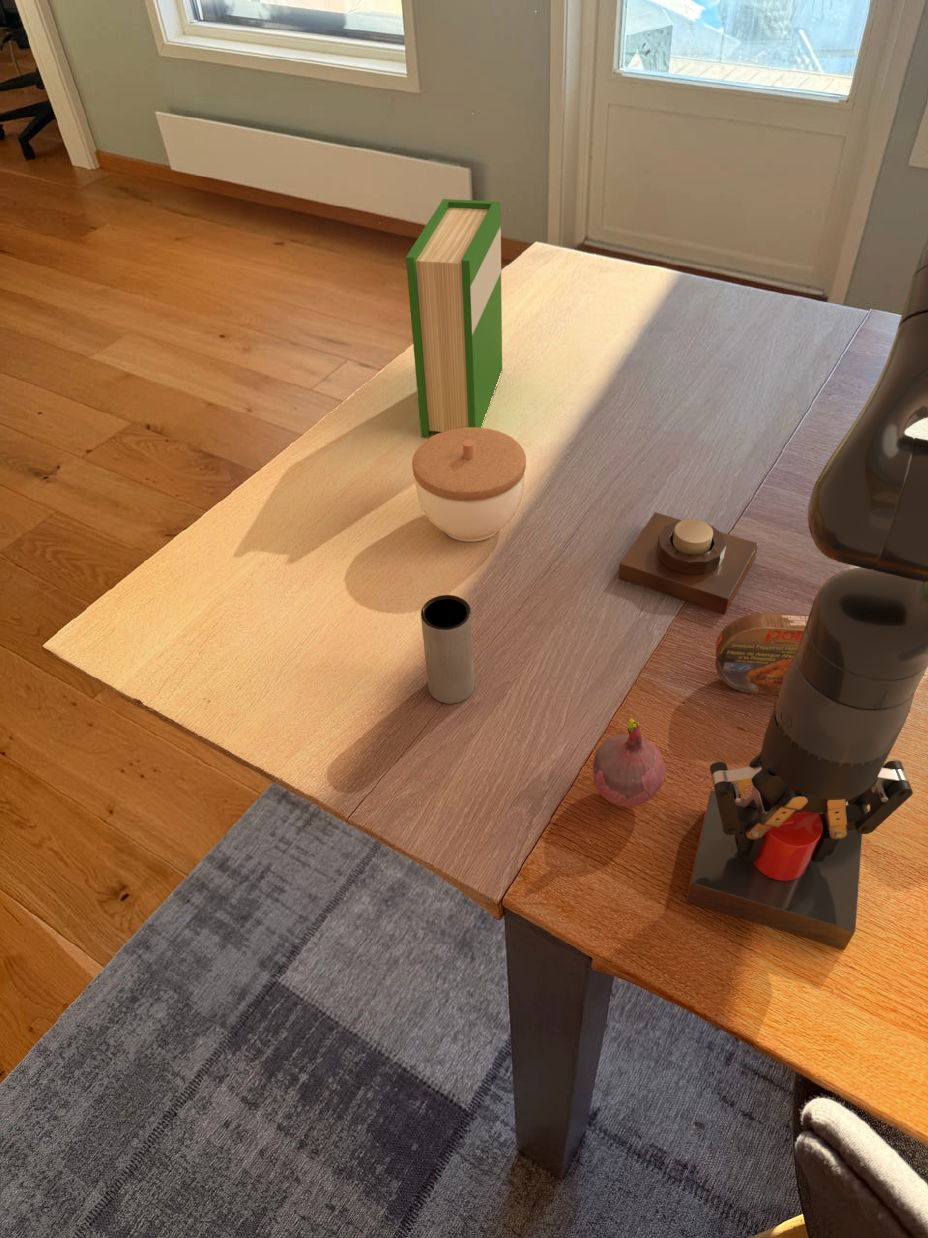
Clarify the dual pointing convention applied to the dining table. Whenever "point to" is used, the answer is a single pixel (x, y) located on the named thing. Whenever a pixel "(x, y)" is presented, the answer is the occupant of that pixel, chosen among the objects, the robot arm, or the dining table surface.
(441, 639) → the planter
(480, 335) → the hardback book
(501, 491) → the lidded bowl
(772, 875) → the dial knob
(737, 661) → the tin
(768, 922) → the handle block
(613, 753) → the vegetable
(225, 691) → the dining table surface
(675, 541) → the button
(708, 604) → the button housing
